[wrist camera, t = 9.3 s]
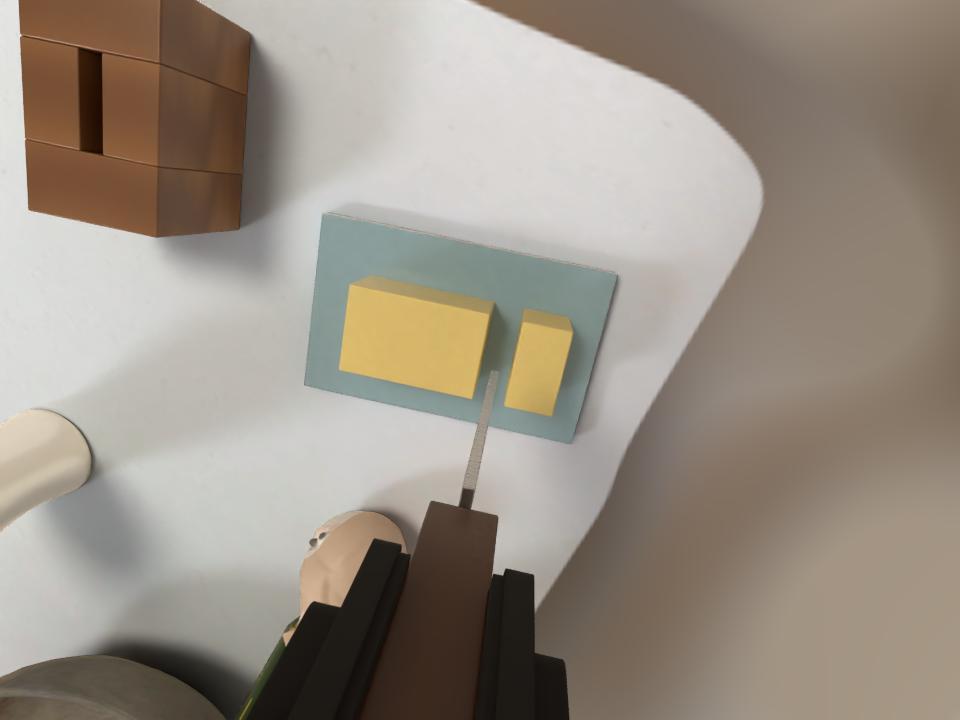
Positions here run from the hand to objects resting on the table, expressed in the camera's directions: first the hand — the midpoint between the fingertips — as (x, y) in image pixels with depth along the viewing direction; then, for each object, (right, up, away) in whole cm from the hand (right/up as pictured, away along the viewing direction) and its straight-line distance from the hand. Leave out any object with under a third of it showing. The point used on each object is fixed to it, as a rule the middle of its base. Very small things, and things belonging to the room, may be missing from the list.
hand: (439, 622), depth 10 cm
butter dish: (-1, +7, +21) cm, 22 cm away
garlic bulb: (-6, -7, +25) cm, 27 cm away
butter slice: (+4, +5, +20) cm, 21 cm away
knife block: (-15, +18, +19) cm, 30 cm away
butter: (-2, +7, +20) cm, 21 cm away
